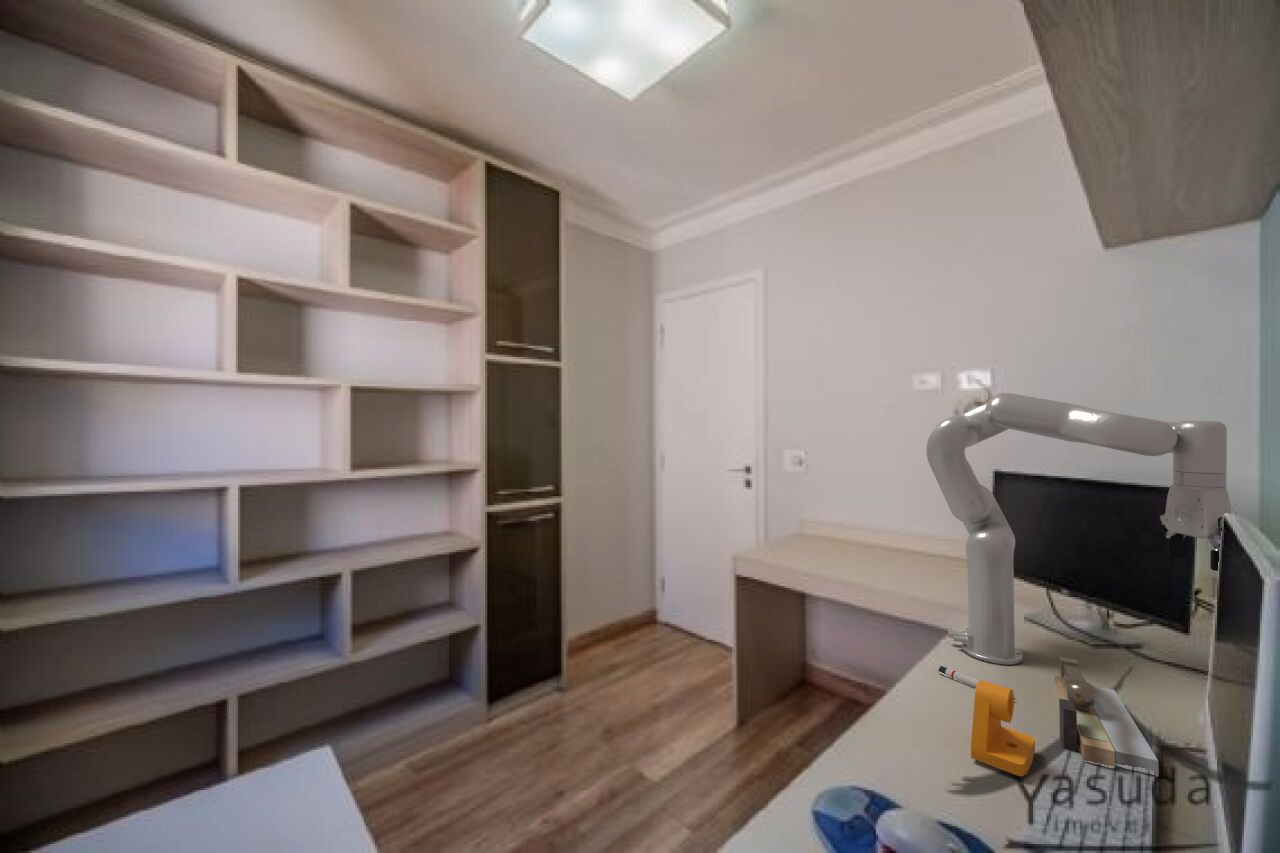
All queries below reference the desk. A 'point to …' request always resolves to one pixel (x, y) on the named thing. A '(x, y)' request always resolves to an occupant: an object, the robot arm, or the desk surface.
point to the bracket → (999, 731)
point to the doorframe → (1103, 730)
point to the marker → (960, 676)
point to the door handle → (1076, 683)
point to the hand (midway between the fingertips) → (1198, 563)
